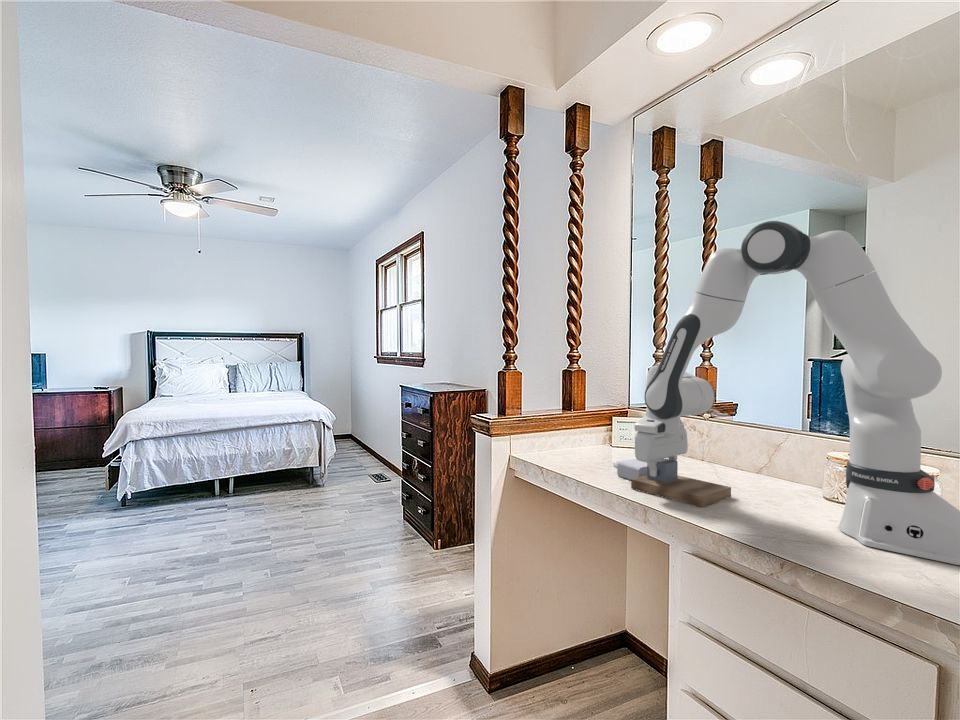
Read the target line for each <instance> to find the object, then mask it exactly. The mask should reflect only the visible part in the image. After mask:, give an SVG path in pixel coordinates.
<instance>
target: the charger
mask: <svg viewBox="0 0 960 720" xmlns="http://www.w3.org/2000/svg"><path fill="white" fill-rule="evenodd" d="M612 466H613V468H615V469H617V472H616V473H617V477H621V478H624V479H627V480H629V481H631V479H635V478H638V477H642V476H646V475H647V462H642V461H638V460H637V459H636V458H632V459H624V460H619V461H618V460H617V461H616V462H612Z"/></svg>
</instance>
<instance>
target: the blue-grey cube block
mask: <svg viewBox="0 0 960 720" xmlns="http://www.w3.org/2000/svg"><path fill="white" fill-rule="evenodd" d="M668 459H669V458H664V459H660V460H657V464H656V467H657V469H658V470H659V475H658V476H656V477H653V476H650V469H649V467H648V464H647V479H651V480H655V481H659V482H663V483H668V482H671V481H675V480H677V475H678V471H679V470H678V469H679V468H678V467H679V466H678V464H679V463H678V461H673V460H668Z"/></svg>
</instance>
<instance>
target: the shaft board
mask: <svg viewBox="0 0 960 720" xmlns="http://www.w3.org/2000/svg"><path fill="white" fill-rule="evenodd" d="M630 488H633V489H632V490H635V489H637V490H636V491H638V490H640V491H639V492H642V491H644V492H643V493H646V492H648V493H647V494H650V493H651V494H650V495H653V494H655V495H654V496H657V495H659V496H658V497H661V496H663V497H662V498H665V497H667V498H666V499H669V498H670V500H672V499H674V500H673V501H676V500H677V502H680V501H681V503H684V504H687V503H688V505H691V506H695V507H700V508H702V507H703V508H706V507H708V505H709V506H711V505H713V503H714V504H717V503H719V502H721V500H722V501H724V500H726V499H729V498H732V487H731V486H728V485H724V484H718V483H715V482H709V481H704V480H700V479H695V478H691V477H687V476H682V475H679V474H677V480H675V481H671V482H668V483H663V482H659V481H655V480H651V479H647V475H646V476H642V477H638V478H635V479H631V480H630ZM718 501H719V502H718ZM705 506H706V507H705Z"/></svg>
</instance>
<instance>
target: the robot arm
mask: <svg viewBox="0 0 960 720" xmlns="http://www.w3.org/2000/svg"><path fill="white" fill-rule="evenodd" d="M793 270H795V271H797V272H799V273H800V274H801V275H802V276H803V277H804V279H805V280H806V282H807V283H808V286H809V288H810V290H811V293H812V294H813V297H814V299H815V301H816V303H817V305H818V308H819V310H820V312H821V315H822V316H823V319H824V320H825V323H826V324H827V327H828V329H829V331H831V333H833V334H834V336H835V337H836V338H837V340H838V341H839V342H840V344H841V345H842V347H843V348H844V350H845V351H846V353H847V354H846V355H845V356H844V358H843V360H842V362H841V365H840V373H841V377H842V380H843V386H844V389H843V390H844V396H845V397H844V398H845V403H846V409H847V414H848V420H849V421H848V422H849V457H848V458H849V461H847V462H846V467H845V484H846V488H847V493H846V499H845V504H844V509H843V513H842V515H841V516H842V517H841V518H840V521H839V524H838V529H839V530H840V531H841V532H842V533H844V534H846V535H848V536H850V537H852V538H854V539H856V540H857V541H858V542H859V543H860V544H862V545H863V546H867V547H871V548H875V549H880V550H885V551H890V552H895V553H899V554H904V555H908V556H915V557H918V558H923V559H927V560H928V559H929V560H931V561H932V560H933V561H937V562H942V563H947V564H951V565H956V566H960V510H959V509H958V508H956V507H955V506H954V505H953V504H951V503H950V502H948V501H946V500H945V499H944V498H943V497H941V496H940V495H938V494H937V493H936V492H934V491H935V481H936V480H935V478H936V477H935V475H934V474H931V475H930V474H929V473H928V472H926V471H925V470H923V469H921V462H922V461H921V459H922V457H921V456H922V455H921V454H922V453H921V451H922V429H921V427H920V424H919V423H918V420H917V419H916V414H915V411H914V407H913V403H912V400H913V399H918V398H920V397H923V396H926V395H928V394H929V393H931V392H932V391H934V390H935V389H936V387H937V386H938V385H939V384H940V381H941V379H942V376H943V375H942V374H943V371H942V365H941V363H940V361H939V360H938V358H937V357H936V356H935V355H934V354H933V353H932V352H930V351H929V350H928V349H927V348H926V347H925V346H924V345H923V344H922V342H921V340H919V338H918V336H916V335H917V334H915V332H914V331H913V329H911V327H910V325H908V323H907V322H906V321H905V320H904V319H903V317H902V316H901V315H900V314H899V312H898V310H897V309H896V307H895V306H894V304H893V303H892V300H891V299H890V296H889V295H888V293H887V290H886V289H885V287H884V285H883V283H882V280H881V278H880V277H879V275H878V273H877V271H876V268H875V267H874V265H873V263H872V261H871V259H870V258H869V256H868V255H867V253H866V251H865V249H863V247H862V246H861V244H860V243H859V242H858V241H857V240H856V238H855V237H854V236H853V235H852V234H851V233H850V232H848V231H845V230H840V229H839V230H829V231H825V232H822V233H820V234H817V235H813V236H809V235H808V234H806V233H805V232H803V231H801V229H800V228H798V227H796V226H795V225H793V224H791V223H789V222H783V221H778V220H768V221H764V222H762V223H759V224H757V225H755V226H753V227H752V228H751V229H750V230H748V232H747V233H746V235H745V236H744V238H743V240H742V242H741V247H740V248H732V247H727V248H721V249H718V250H716V251H713V253H712V254H711V255H710V256H709V258H708V259H707V261H706V263H705V266H704V268H703V270H702V273H701V274H700V277H699V280H698V282H697V286H696V289H695V293H694V296H693V297H692V301H691V303H690V305H689V306H688V307H689V308H688V309H687V311H686V312H685V314H684V315H683V316H682V317H681V318H680V319H679V321H678V322H676V325H675V327H674V329H673V331H672V333H671V336H670V338H669V341H668V343H667V345H666V348H665V350H664V353H663V355H662V357H661V359H660V362H659V364H654V365H651V367H649V368H648V371H647V375H646V381H645V382H646V383H645V391H644V403H645V405H646V408H645V415H644V416H643V417H642V418H641V419H639V420H638V421H636V422H634V423H635V424H634V432H636V433H635V437H634V456H635V459H637V460H638V461H642V462H647V464H648V467H649V469H650V476H653V477H656V476H658V475H659V470H658V469H657V467H656V464H657V460H660V459H668V460H673V461H677V460H678V456H680V455H684V454H687V452H688V449H689V446H688V444H689V443H688V432H687V429H686V428H685V424H684V422H683V421H682V420H681V417H688V416H689V417H690V416H696V415H702V414H705V413H708V412H709V411H710V410H711V409H712V408H713V406H714V404H715V399H716V398H715V397H716V395H715V390H714V388H713V385H712V384H711V383H710V382H709V381H708V380H707V379H706V378H703V377H702V378H701V377H698V376H695V375H693V374H691V373H688V372H687V368H688V366H689V364H690V361H691V359H692V356H693V354H694V353H695V351H696V350H697V348H698V347H699V346H700V345H702V344H703V343H705V342H706V341H707V340H709V339H712V338H713V337H715V336H718V335H721V334H724V333H725V332H728V331H729V330H730V329H732V328H733V327H735V325H736V324H737V322H738V320H739V319H740V317H741V315H742V314H743V313H742V312H743V310H744V306H745V303H746V300H747V296H748V294H749V291H750V288H751V286H752V283H753V282H754V280H755V279H756V278H758V277H759V276H764V275H779V274H784V273H788V272H790V271H793Z"/></svg>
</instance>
